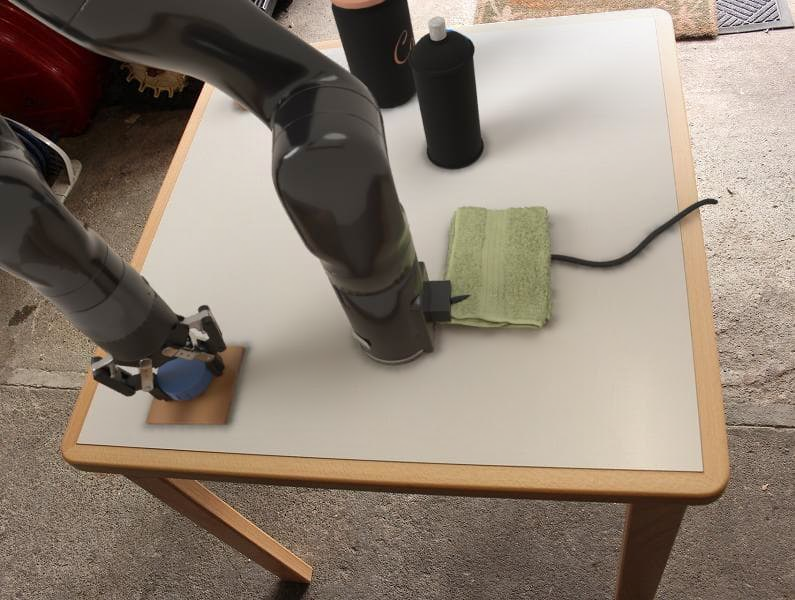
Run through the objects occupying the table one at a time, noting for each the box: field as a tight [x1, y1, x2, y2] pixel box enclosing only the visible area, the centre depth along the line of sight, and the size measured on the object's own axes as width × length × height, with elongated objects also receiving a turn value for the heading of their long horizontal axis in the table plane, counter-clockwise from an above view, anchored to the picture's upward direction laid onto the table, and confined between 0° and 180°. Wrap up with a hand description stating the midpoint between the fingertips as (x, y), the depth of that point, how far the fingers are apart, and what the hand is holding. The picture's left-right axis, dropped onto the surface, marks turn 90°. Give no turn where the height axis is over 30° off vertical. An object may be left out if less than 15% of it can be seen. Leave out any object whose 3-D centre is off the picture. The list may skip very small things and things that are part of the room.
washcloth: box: [439, 205, 554, 330], centre depth 73 cm, size 13×18×3 cm
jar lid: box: [156, 358, 213, 401], centre depth 72 cm, size 6×6×2 cm
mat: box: [145, 345, 246, 426], centre depth 73 cm, size 10×10×1 cm
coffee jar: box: [329, 0, 417, 110], centre depth 91 cm, size 11×11×18 cm
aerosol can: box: [408, 16, 485, 170], centre depth 79 cm, size 8×8×20 cm
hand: (193, 381), depth 73 cm, fingers closed on jar lid, 6 cm apart
